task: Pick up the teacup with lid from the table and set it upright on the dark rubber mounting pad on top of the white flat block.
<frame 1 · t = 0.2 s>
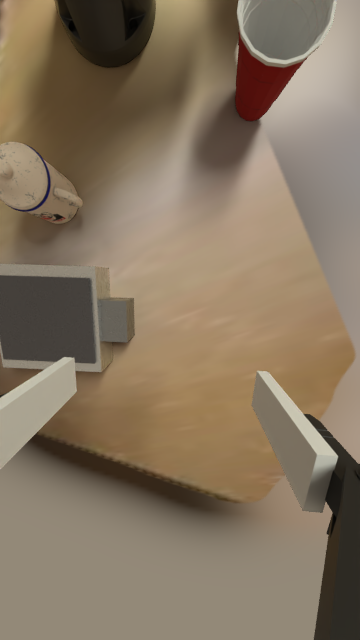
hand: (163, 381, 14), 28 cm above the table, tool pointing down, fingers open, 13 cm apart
plastic cup: (252, 100, 33), on the table
white flat block: (65, 314, 42), on the table
teacup with lid: (65, 202, 38), on the table
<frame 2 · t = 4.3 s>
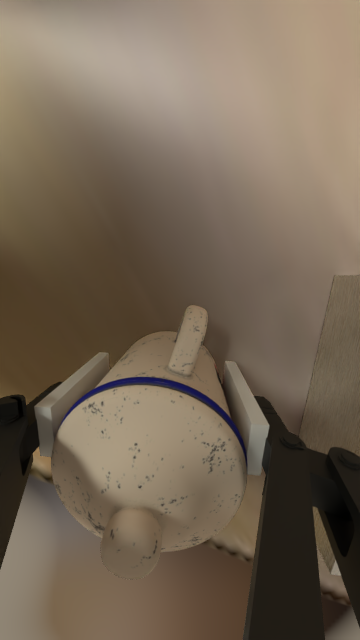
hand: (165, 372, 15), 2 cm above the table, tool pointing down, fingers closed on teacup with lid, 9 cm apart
teacup with lid: (174, 361, 17), on the table, touching gripper
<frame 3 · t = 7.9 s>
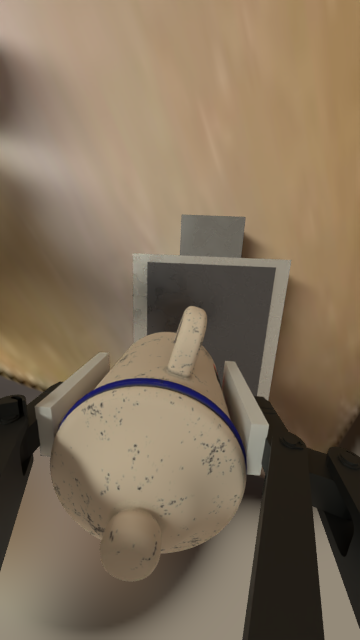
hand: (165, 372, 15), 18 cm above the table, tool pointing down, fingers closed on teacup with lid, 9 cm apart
white flat block: (202, 322, 33), on the table
teacup with lid: (173, 361, 17), point 16 cm above the table, touching gripper
when the fingers open (9 cm above the table, at t = 11.4 s): teacup with lid stays where it is, resting on white flat block.
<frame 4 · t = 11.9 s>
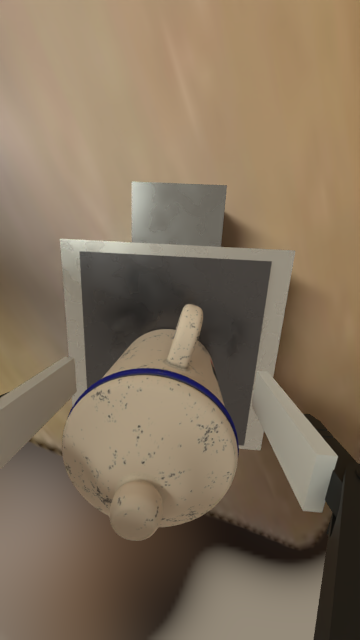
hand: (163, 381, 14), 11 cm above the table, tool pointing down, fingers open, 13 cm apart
white flat block: (174, 336, 25), on the table
teacup with lid: (172, 357, 18), point 6 cm above the table, touching white flat block
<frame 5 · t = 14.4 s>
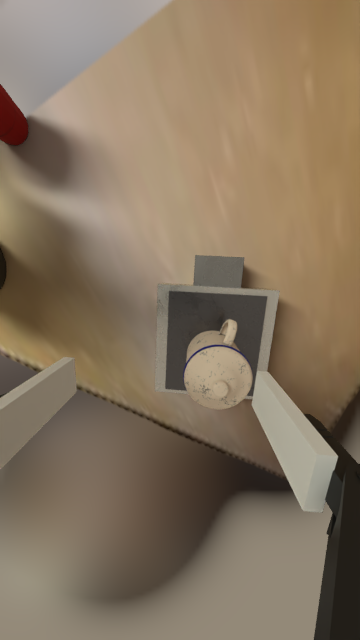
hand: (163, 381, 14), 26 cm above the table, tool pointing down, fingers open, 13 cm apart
plastic cup: (13, 127, 35), on the table
white flat block: (209, 335, 40), on the table
teacup with lid: (214, 345, 34), point 6 cm above the table, touching white flat block
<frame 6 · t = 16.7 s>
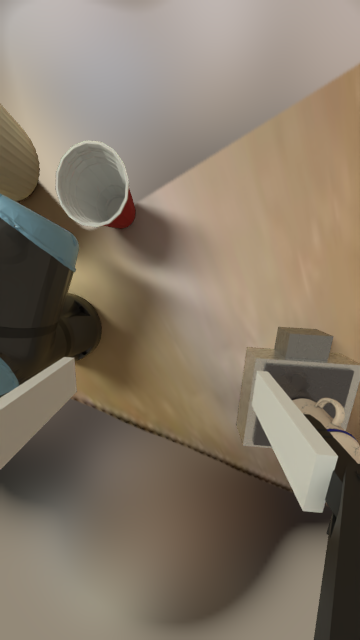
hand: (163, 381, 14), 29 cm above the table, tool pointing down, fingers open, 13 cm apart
plastic cup: (120, 212, 39), on the table
canister: (12, 168, 38), on the table
white flat block: (285, 391, 45), on the table
teacup with lid: (302, 409, 39), point 6 cm above the table, touching white flat block
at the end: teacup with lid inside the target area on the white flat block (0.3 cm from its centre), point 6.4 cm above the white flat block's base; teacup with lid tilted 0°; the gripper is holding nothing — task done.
